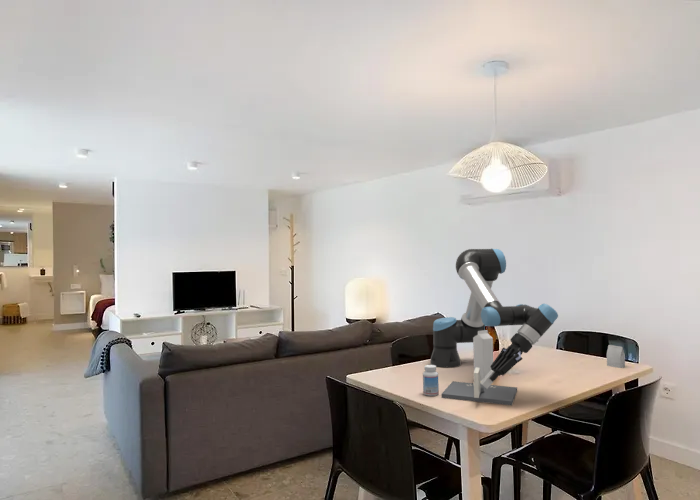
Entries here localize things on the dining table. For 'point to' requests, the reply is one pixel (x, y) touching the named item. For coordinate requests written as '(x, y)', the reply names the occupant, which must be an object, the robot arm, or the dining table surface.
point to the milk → (483, 352)
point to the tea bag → (615, 356)
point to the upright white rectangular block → (477, 383)
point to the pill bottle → (430, 381)
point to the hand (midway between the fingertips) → (483, 385)
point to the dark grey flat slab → (489, 395)
